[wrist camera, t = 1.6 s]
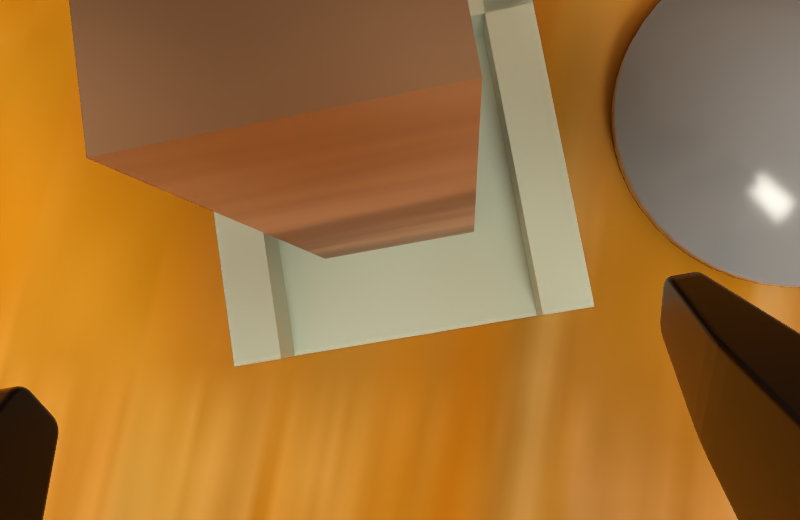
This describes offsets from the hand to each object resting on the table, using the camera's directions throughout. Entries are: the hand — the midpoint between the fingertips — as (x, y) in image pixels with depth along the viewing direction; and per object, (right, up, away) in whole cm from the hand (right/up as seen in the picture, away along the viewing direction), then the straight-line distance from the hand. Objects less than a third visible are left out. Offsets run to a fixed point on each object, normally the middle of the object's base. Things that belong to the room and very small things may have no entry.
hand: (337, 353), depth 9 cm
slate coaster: (+13, +6, +11) cm, 18 cm away
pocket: (0, +4, +13) cm, 13 cm away
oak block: (0, +4, +12) cm, 13 cm away
